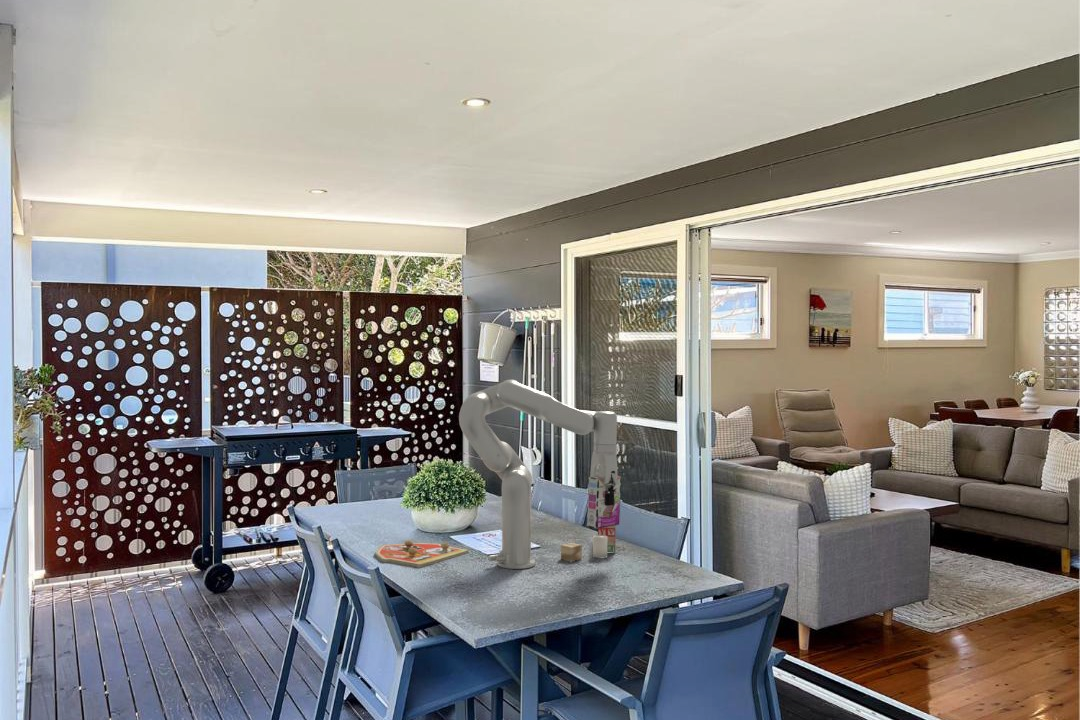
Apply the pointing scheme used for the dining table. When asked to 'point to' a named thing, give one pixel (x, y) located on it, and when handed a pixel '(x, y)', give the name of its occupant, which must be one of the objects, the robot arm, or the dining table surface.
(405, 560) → the knob puzzle
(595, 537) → the cream plastic peg
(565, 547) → the oak block
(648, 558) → the dining table surface
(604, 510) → the candy bar box
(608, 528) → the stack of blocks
